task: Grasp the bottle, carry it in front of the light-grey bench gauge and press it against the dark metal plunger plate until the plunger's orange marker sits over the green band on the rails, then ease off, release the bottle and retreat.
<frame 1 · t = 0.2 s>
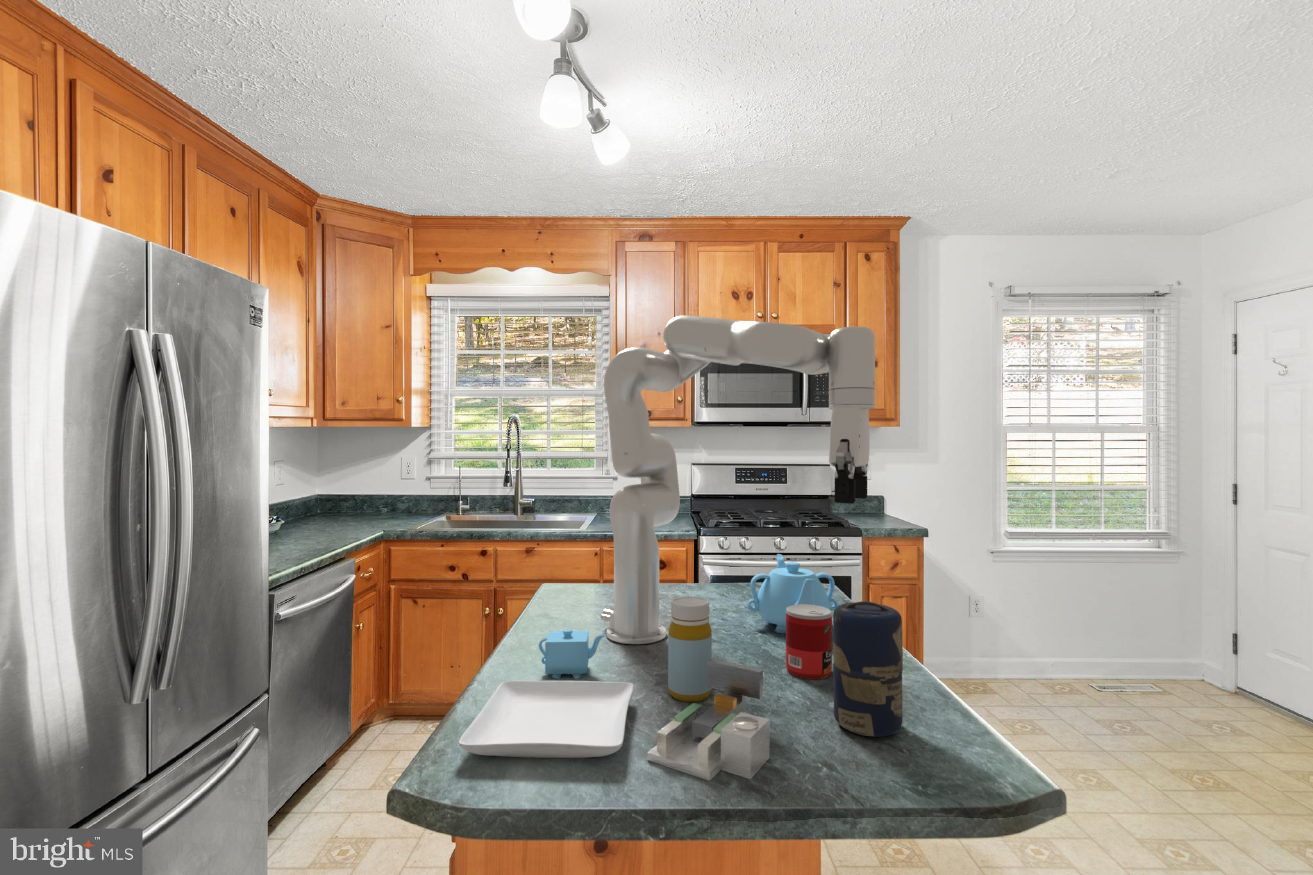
hand: (851, 500, 106), 31 cm above the counter, tool pointing down, fingers open, 9 cm apart
salad plate: (554, 733, 88), on the counter
plunger: (720, 698, 87), point 5 cm above the counter, slide at 0.0 cm
teapot: (792, 627, 137), on the counter
bottle: (689, 695, 100), on the counter
canned food: (808, 672, 110), on the counter
teapot 2: (572, 673, 109), on the counter
gauge body: (710, 740, 85), on the counter
canister: (867, 727, 89), on the counter
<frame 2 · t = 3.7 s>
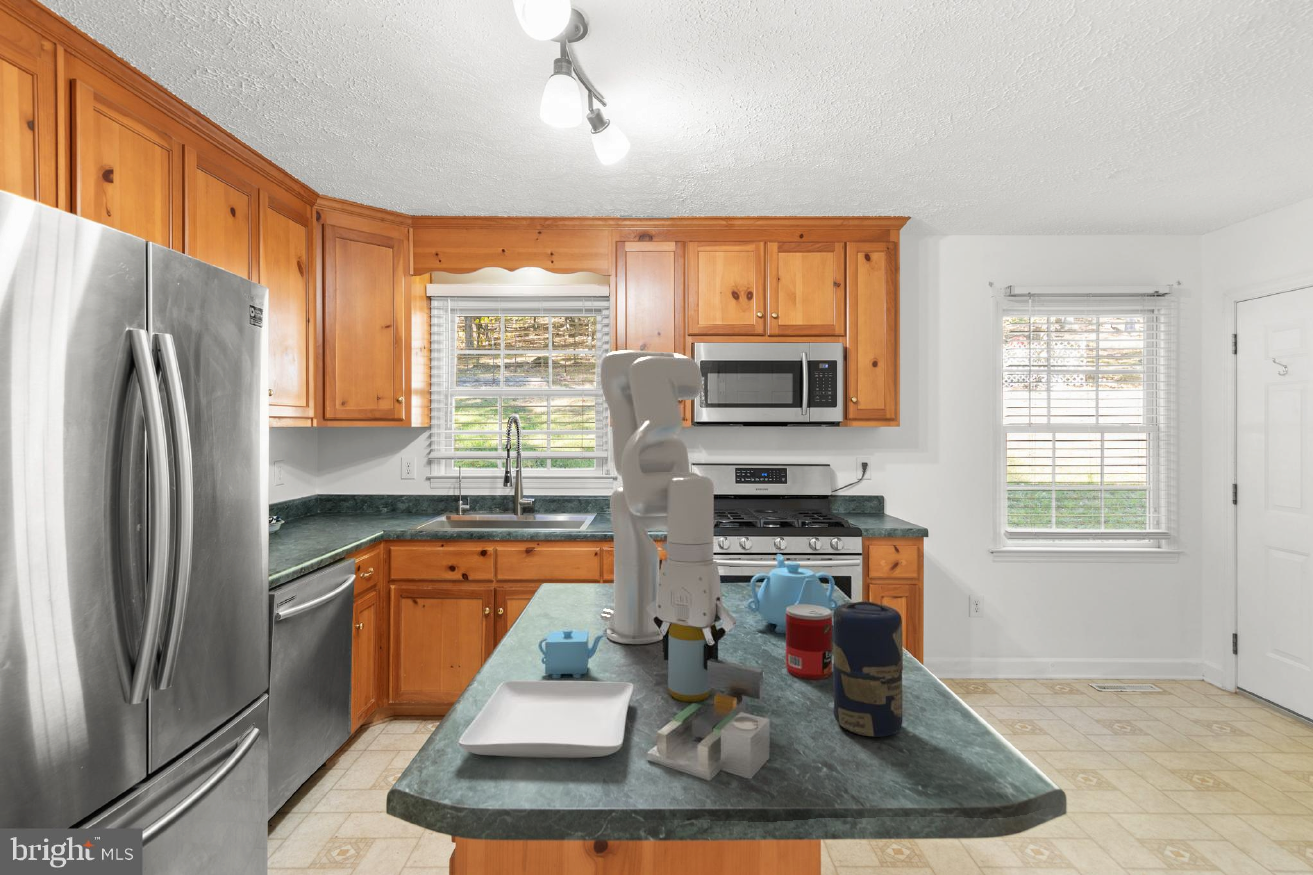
hand: (689, 661, 100), 5 cm above the counter, tool pointing down, fingers closed on bottle, 6 cm apart
bottle: (689, 695, 100), on the counter, touching gripper
everything else where it was.
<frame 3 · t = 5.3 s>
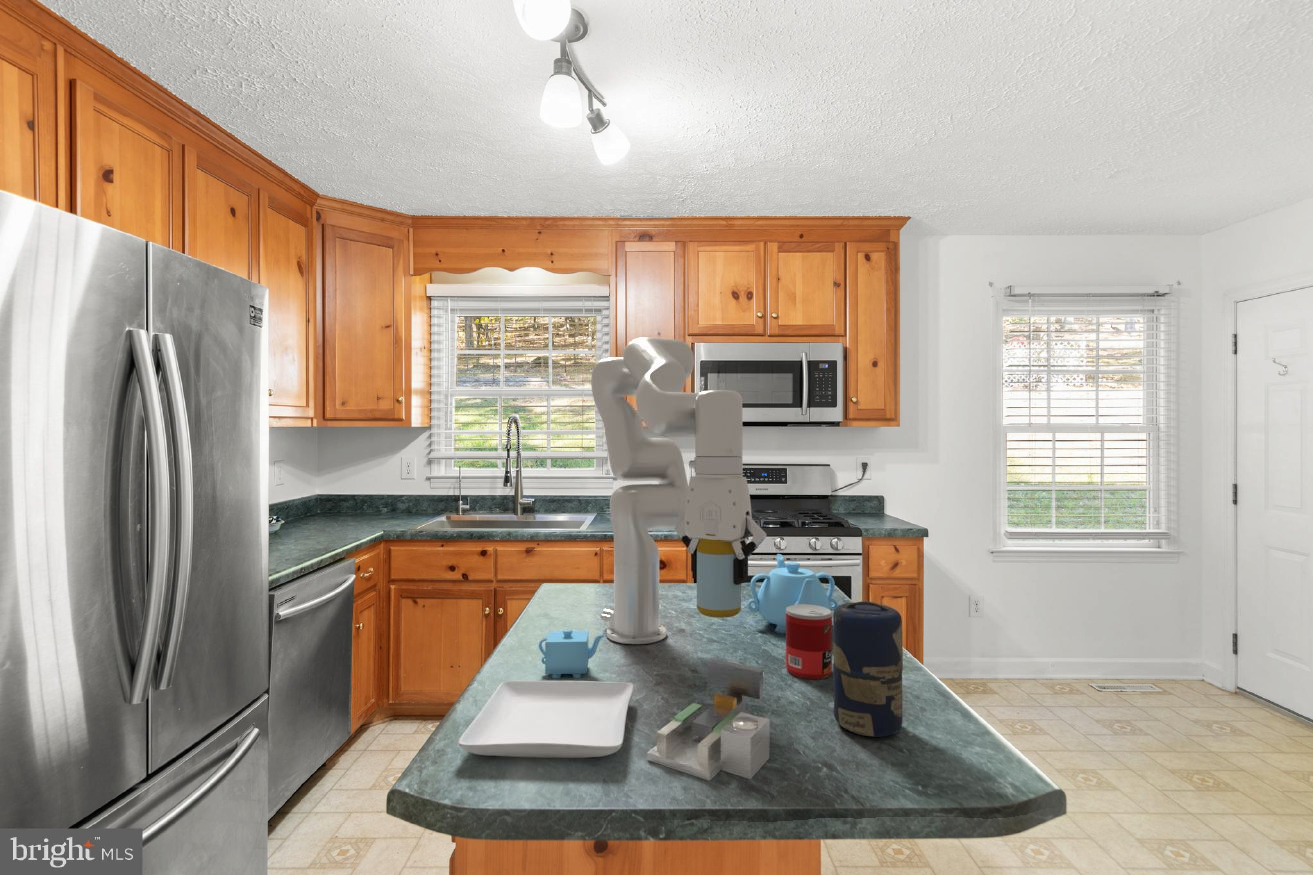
hand: (719, 579, 99), 19 cm above the counter, tool pointing down, fingers closed on bottle, 6 cm apart
bottle: (718, 613, 99), point 14 cm above the counter, touching gripper
everything else where it was.
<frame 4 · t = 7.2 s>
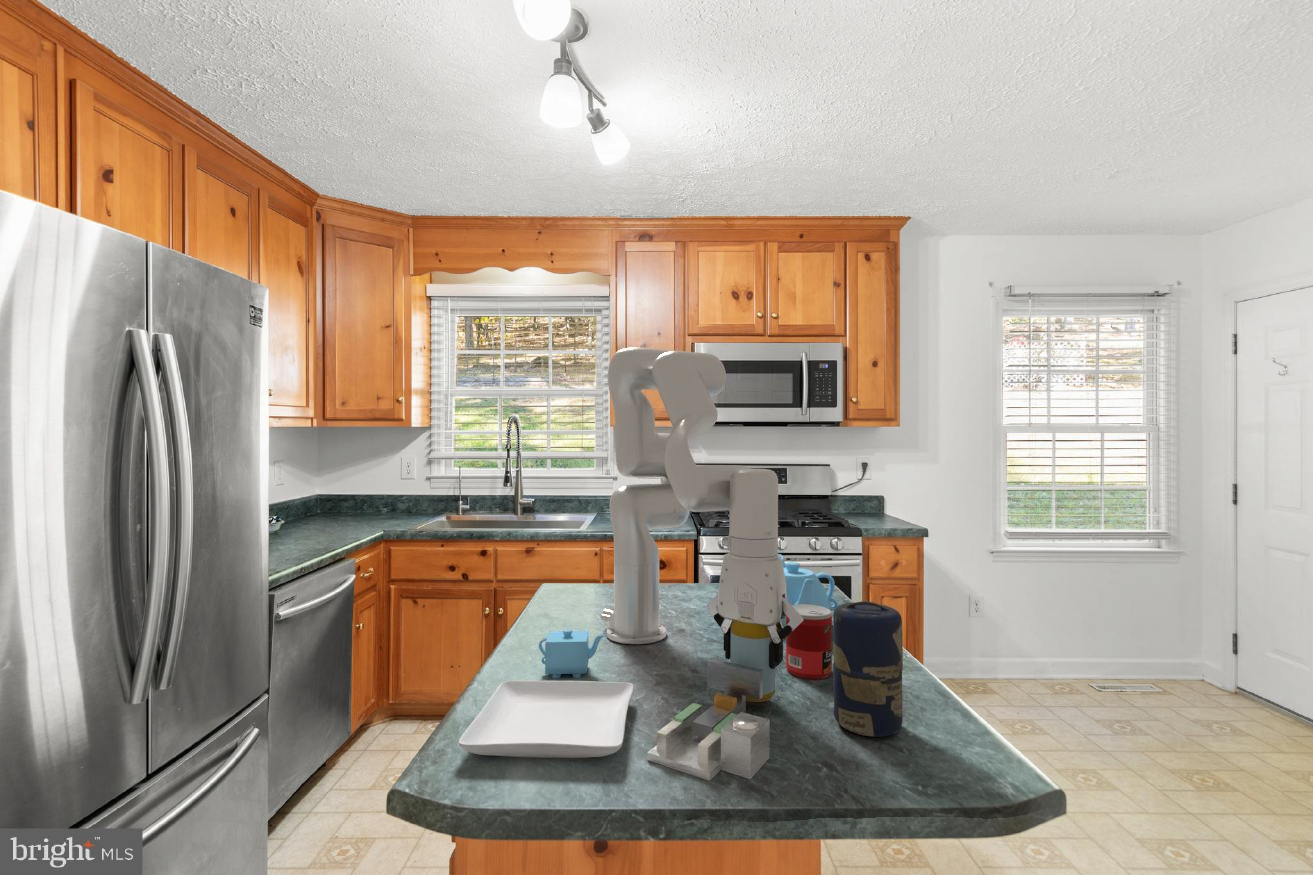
hand: (752, 660, 97), 7 cm above the counter, tool pointing down, fingers closed on bottle, 6 cm apart
bottle: (752, 694, 97), point 1 cm above the counter, touching gripper
everything else where it was.
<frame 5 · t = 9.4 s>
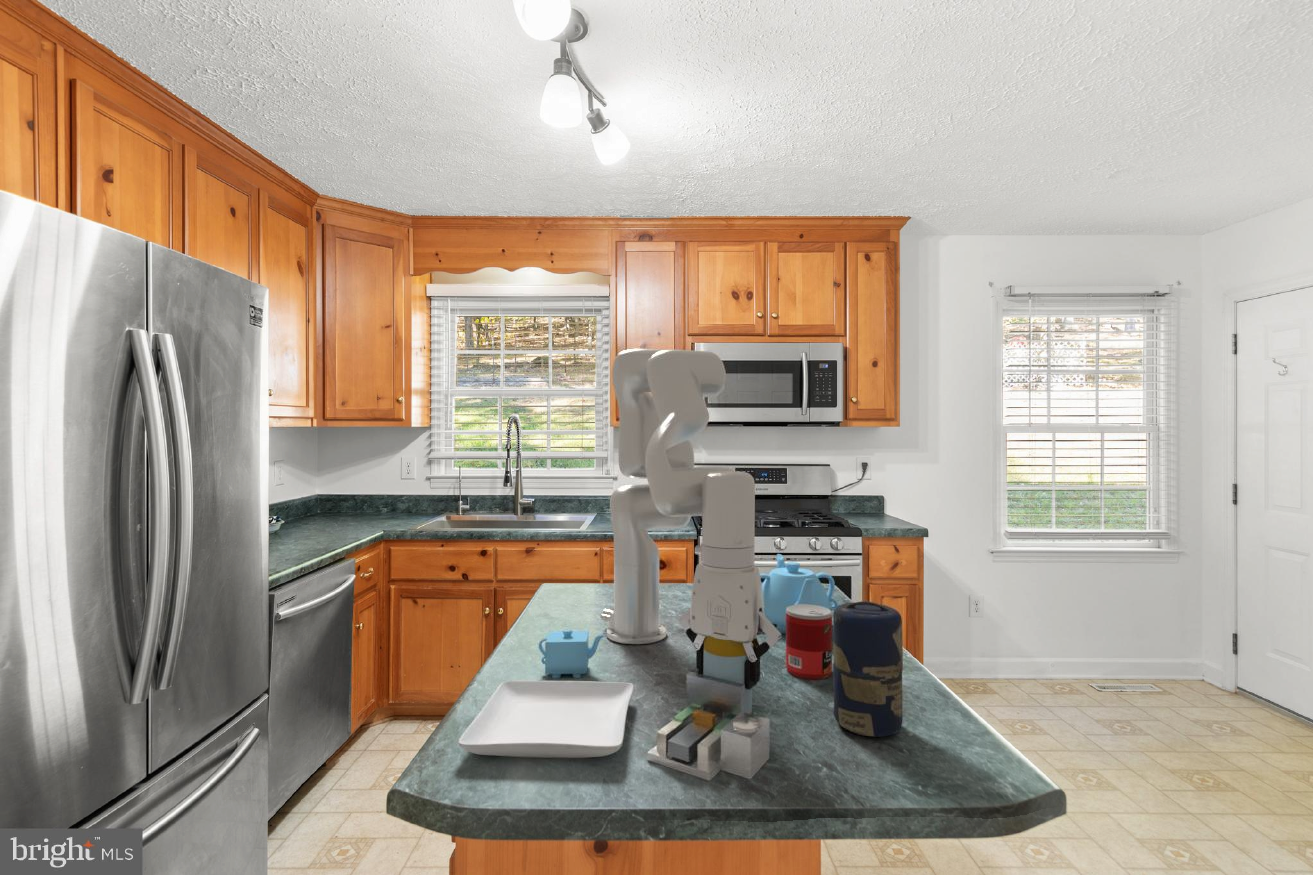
hand: (727, 679, 89), 7 cm above the counter, tool pointing down, fingers closed on bottle, 6 cm apart
plunger: (698, 715, 82), point 5 cm above the counter, slide at 6.4 cm
bottle: (727, 717, 89), point 1 cm above the counter, touching gripper
everything else where it was.
when the fingers open (7 cm above the counter, at t = 10.8 s): bottle drops 1 cm, on the counter.
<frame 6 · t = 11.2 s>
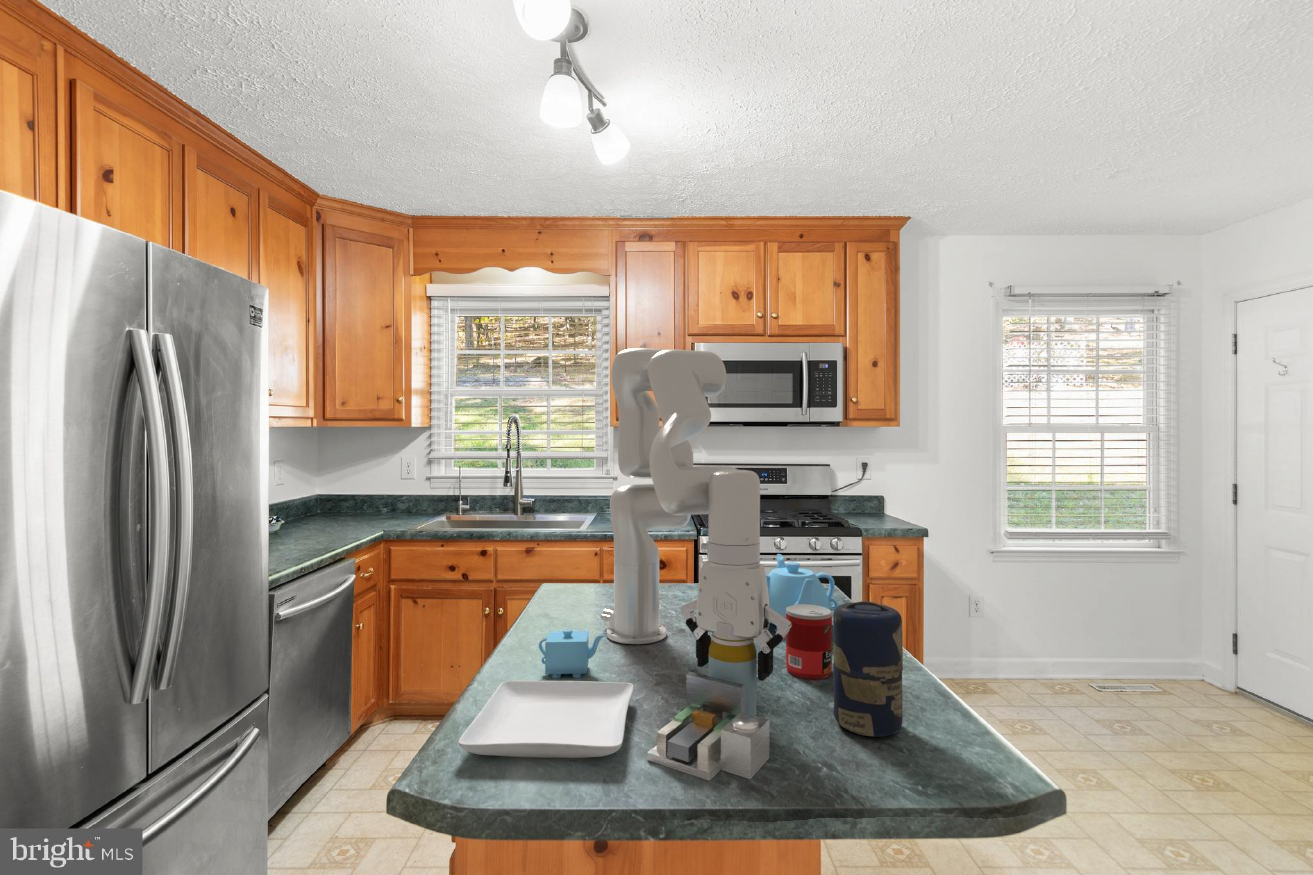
hand: (733, 670, 91), 7 cm above the counter, tool pointing down, fingers open, 9 cm apart
bottle: (732, 721, 91), on the counter
everything else where it was.
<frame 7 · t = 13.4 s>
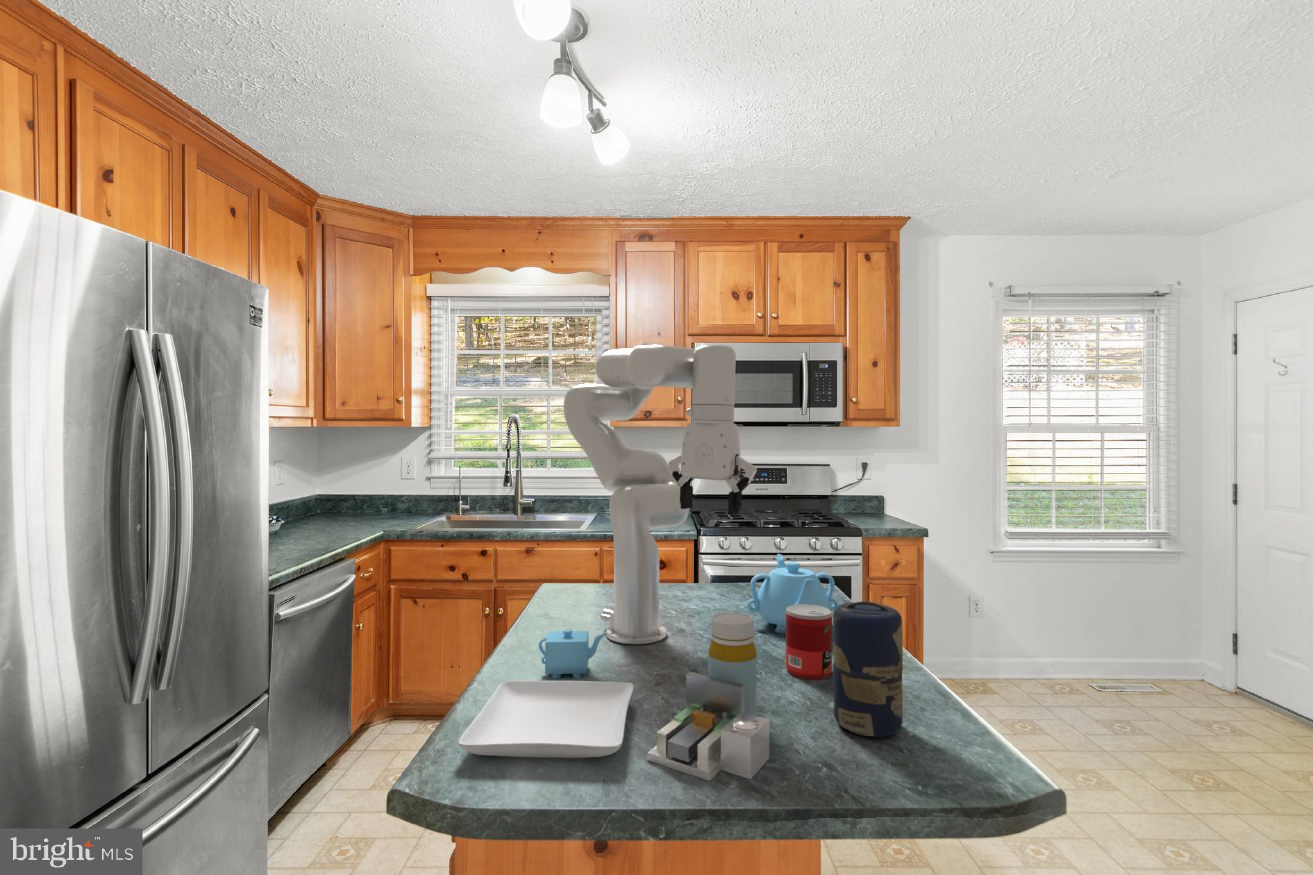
hand: (709, 511, 111), 28 cm above the counter, tool pointing down, fingers open, 9 cm apart
nothing on the counter moved.
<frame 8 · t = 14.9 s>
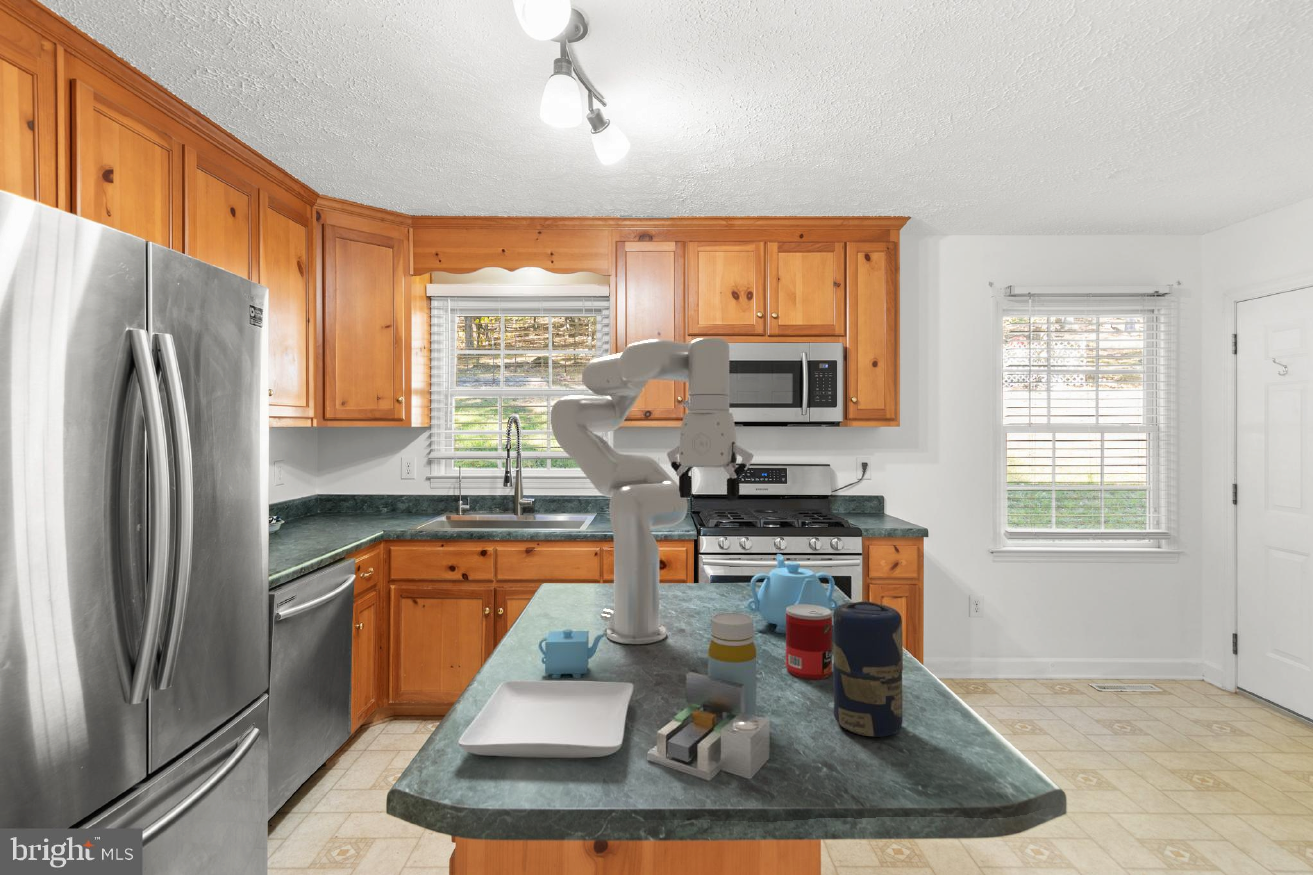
hand: (708, 498, 114), 30 cm above the counter, tool pointing down, fingers open, 9 cm apart
nothing on the counter moved.
at the end: plunger slide at 6.4 cm; bottle tilted 0°; the gripper is holding nothing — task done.
